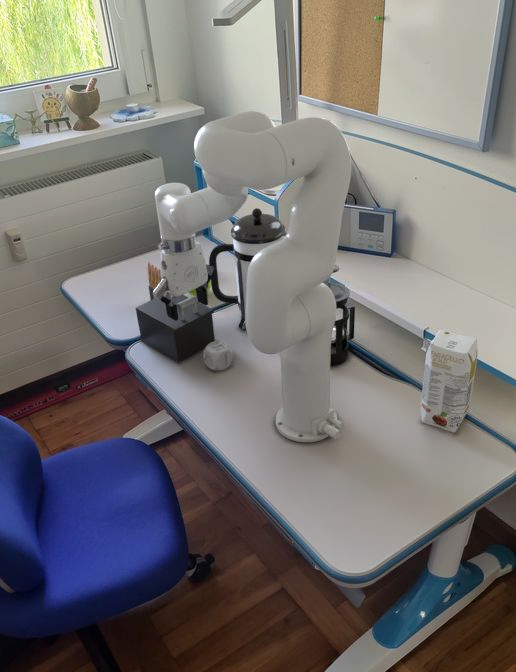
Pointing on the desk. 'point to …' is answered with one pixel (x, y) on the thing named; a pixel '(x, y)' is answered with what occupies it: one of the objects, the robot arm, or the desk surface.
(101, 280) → the desk surface
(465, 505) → the desk surface
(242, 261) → the coffee press
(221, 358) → the die
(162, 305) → the lid
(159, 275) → the ammunition clip
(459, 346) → the juice carton
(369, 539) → the desk surface
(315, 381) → the robot arm
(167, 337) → the hinged black storage box
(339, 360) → the french press
